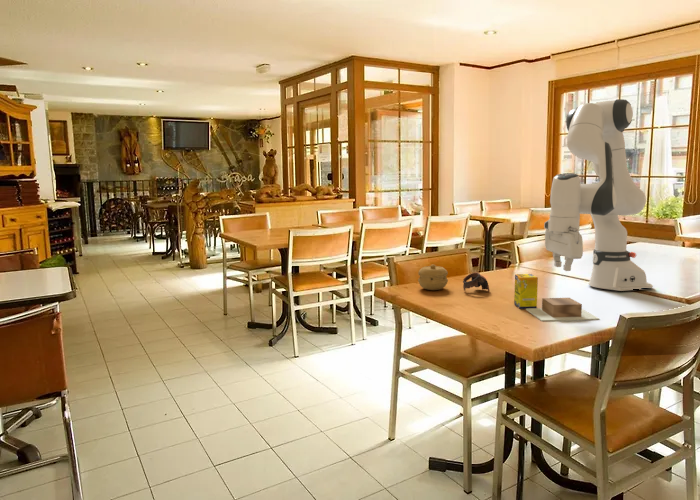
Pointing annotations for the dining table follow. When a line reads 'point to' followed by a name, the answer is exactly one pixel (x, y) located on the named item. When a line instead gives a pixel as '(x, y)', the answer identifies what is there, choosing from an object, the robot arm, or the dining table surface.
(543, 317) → the mat
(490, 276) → the dining table surface
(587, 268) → the dining table surface
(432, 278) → the pot
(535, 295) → the supplement box
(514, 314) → the dining table surface
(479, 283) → the brown ceramic rounded piece
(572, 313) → the walnut slab
